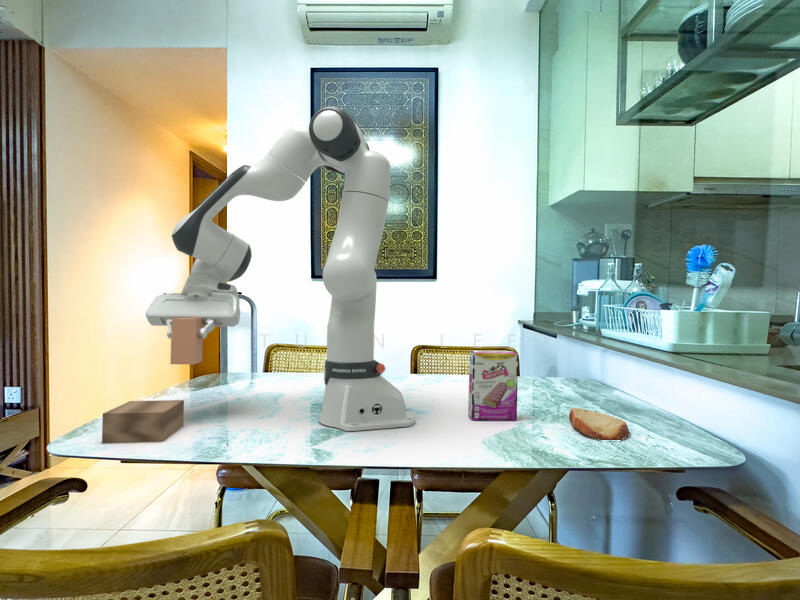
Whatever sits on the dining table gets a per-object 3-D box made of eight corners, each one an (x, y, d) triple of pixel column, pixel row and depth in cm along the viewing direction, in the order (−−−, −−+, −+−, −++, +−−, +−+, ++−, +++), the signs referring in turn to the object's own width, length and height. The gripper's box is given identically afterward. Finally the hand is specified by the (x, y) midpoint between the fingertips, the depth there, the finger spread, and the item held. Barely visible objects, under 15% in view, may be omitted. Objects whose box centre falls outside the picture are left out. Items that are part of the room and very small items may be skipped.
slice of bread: (577, 414, 110) (577, 400, 111) (652, 431, 96) (652, 415, 96) (534, 425, 100) (534, 409, 100) (610, 446, 85) (611, 427, 85)
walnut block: (183, 427, 95) (183, 400, 95) (163, 443, 84) (163, 412, 84) (129, 428, 93) (130, 401, 93) (101, 445, 82) (102, 413, 82)
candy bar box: (472, 421, 102) (472, 352, 102) (467, 415, 107) (468, 350, 107) (518, 421, 102) (518, 352, 102) (512, 416, 107) (512, 350, 107)
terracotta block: (202, 361, 99) (203, 318, 99) (194, 364, 94) (195, 319, 94) (179, 361, 99) (180, 318, 99) (170, 364, 94) (171, 318, 94)
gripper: (153, 284, 102) (132, 326, 92) (242, 286, 105) (230, 328, 95) (161, 302, 107) (141, 345, 97) (246, 304, 109) (235, 346, 99)
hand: (186, 336), depth 96 cm, fingers closed on terracotta block, 5 cm apart
